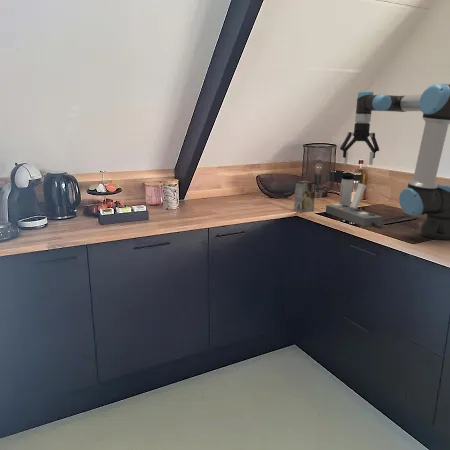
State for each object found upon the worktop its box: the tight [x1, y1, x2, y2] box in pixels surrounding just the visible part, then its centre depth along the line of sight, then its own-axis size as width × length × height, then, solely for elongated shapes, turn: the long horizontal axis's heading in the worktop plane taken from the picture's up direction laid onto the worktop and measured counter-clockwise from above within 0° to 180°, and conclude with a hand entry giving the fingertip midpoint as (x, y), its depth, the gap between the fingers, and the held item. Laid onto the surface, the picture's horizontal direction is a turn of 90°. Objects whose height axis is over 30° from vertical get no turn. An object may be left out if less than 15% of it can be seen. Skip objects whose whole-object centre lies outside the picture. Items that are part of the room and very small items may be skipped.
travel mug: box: [338, 171, 355, 206], centre depth 241 cm, size 6×7×20 cm
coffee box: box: [293, 180, 316, 213], centre depth 230 cm, size 9×6×16 cm
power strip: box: [325, 203, 384, 229], centre depth 216 cm, size 36×11×5 cm, turn 24°
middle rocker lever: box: [349, 182, 368, 211], centre depth 217 cm, size 4×2×14 cm, turn 24°
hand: (357, 164), depth 222 cm, fingers open, 13 cm apart
